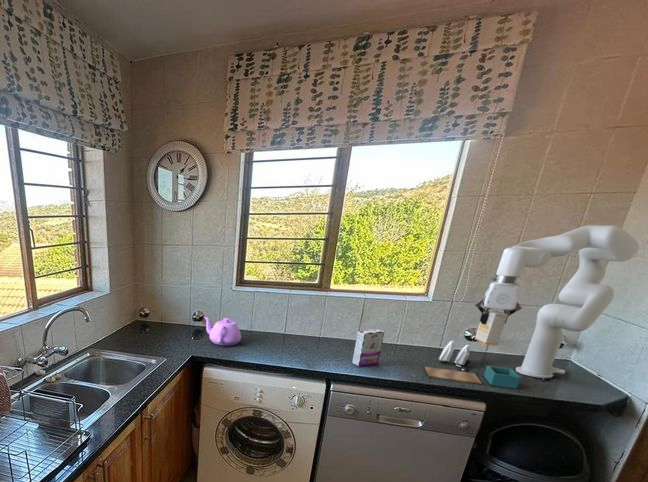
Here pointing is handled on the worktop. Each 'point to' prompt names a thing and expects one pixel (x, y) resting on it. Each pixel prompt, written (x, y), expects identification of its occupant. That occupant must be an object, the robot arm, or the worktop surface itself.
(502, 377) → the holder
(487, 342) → the supplement box
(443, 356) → the shaker set
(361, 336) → the candy bar box
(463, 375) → the cork mat
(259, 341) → the worktop surface
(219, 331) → the teapot
